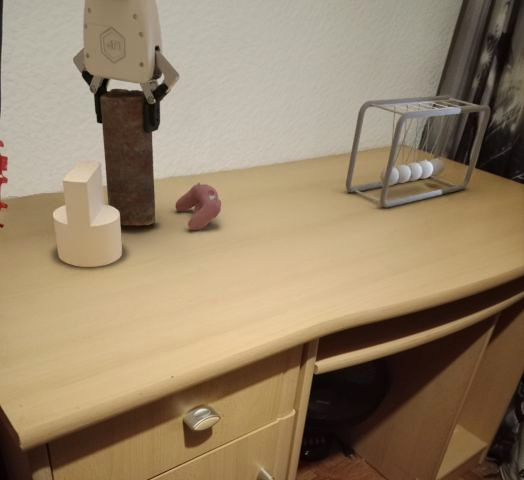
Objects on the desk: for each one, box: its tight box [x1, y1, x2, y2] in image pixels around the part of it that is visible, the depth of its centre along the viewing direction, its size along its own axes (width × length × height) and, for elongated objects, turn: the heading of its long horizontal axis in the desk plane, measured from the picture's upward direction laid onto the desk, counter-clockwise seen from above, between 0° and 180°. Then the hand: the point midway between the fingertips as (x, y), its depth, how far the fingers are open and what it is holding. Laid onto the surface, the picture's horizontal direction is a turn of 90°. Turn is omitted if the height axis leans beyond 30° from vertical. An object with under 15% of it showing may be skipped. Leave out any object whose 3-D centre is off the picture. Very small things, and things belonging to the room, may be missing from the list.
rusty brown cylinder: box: [100, 88, 156, 226], centre depth 83 cm, size 8×7×20 cm
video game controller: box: [174, 182, 222, 231], centre depth 92 cm, size 10×5×7 cm, turn 22°
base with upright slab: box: [52, 160, 123, 268], centre depth 76 cm, size 9×9×12 cm
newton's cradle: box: [345, 95, 491, 209], centre depth 112 cm, size 30×10×18 cm, turn 129°
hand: (127, 125), depth 80 cm, fingers closed on rusty brown cylinder, 7 cm apart
